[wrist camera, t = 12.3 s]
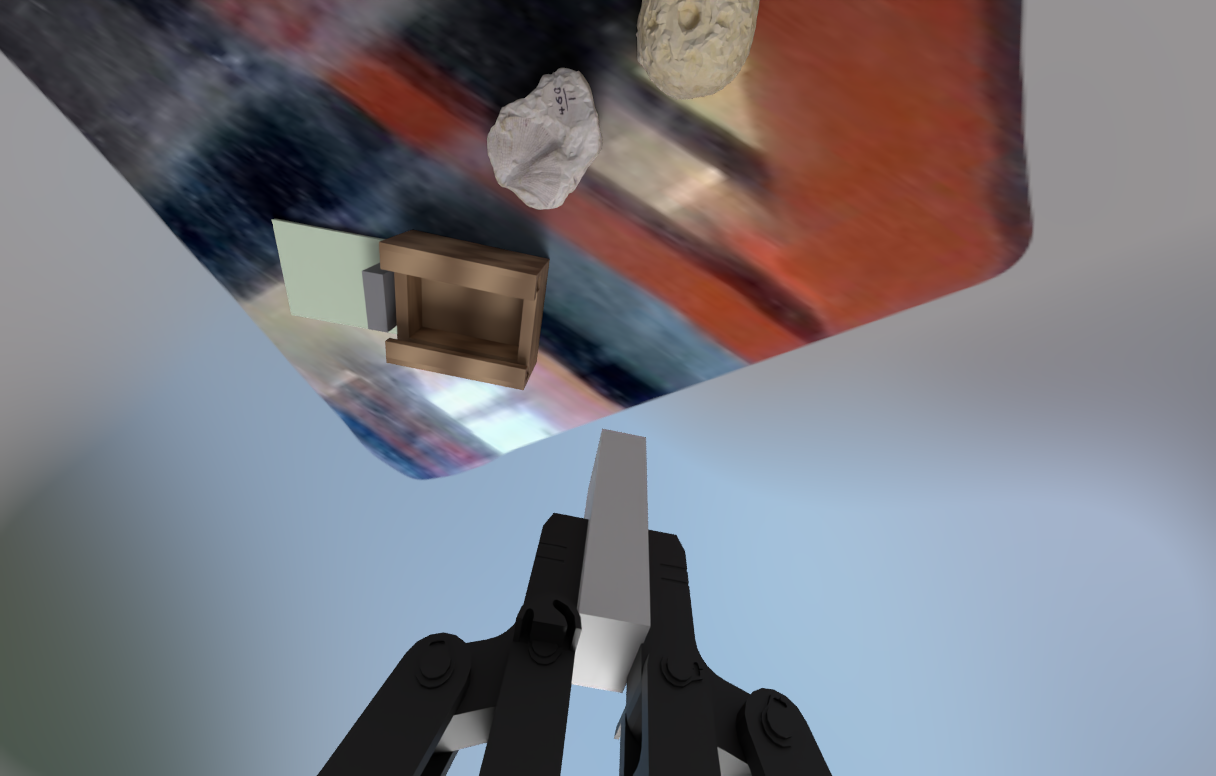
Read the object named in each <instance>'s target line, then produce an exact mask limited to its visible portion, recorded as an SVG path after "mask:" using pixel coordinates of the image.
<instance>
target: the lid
mask: <svg viewBox="0 0 1216 776" xmlns="http://www.w3.org/2000/svg"><path fill="white" fill-rule="evenodd" d="M272 223H273V228H274V233H275V238H276V242H277V247H278V252H279V257H280V262H281V267H282V272H283V276H284V281H285V286H286V291H287V296H288V301H289V306H290V310H291V315H294V316H300V317H305V318H311V319H316V320H322V321H327V322H333V323H338V324H344V325H349V326H355V327H360V328H365V329H371V330H376V331H382V332H387V333H393V334H397V319H396V299H395V279H394V272H392V271H388V270H383V269H380V254H379V242H380V241H383V240H385V239H381V238H376V237H370V236H365V235H360V234H354V233H349V232H344V231H338V230H333V229H328V228H323V227H317V226H312V225H307V224H301V223H296V222H291V221H285V220H280V219H272Z"/></svg>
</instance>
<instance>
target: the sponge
mask: <svg viewBox="0 0 1216 776" xmlns="http://www.w3.org/2000/svg"><path fill="white" fill-rule="evenodd" d="M758 8H759V0H642V7H641V10H640V13H639V16H638V22H637V29H638V32H637V34H636V36H637V46H638V48H637V59H638V61H639V63H640V64H641V65H642V66H643V67H644V68H645V70H646V71H647V73H648V76H649V78H650V80H651V81H652V82H654V83H655V84H656V86H657V87H658V88H659V89H660V90H661V91H663V92H664V93H666V94H667V95H669V96H671V97H673V98H675V99H693V98H696V97H704V96H707V95H712V94H714V93H716V92H717V91H719V90H722V89H723V88H724V87H725V86H726V85H727V84H729V83H730V82H731V81H732V80H733V79H734V78H735V77H736V76H737V74H738V73H739V71H740V70H741V67H742V66H743V65H744V63H745V61H746V58H747V57H748V55H749V52H750V48H751V44H752V41H753V36H754V32H755V28H756V19H757V14H758Z"/></svg>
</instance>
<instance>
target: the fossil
mask: <svg viewBox="0 0 1216 776" xmlns="http://www.w3.org/2000/svg"><path fill="white" fill-rule="evenodd" d="M602 144H603V138H602V134H601V131H600V126H599V119H598V113H597V111H596V109H595V106H594V101H593V96H592V92H591V88H590V86H589V83H588V82H587V81H586V79H585V78H584V76H583V75H582V74H581V72H580V71H577V72H576V71H574V70H571V69H568V68H559V69H558V70H557V71H556V72H553V73H552V74H551V75H550V74H545V75H543V76H542V78H541V80H540V82H539V84H538V86H537V87H536V89H535V90H534V91H532V92H531V93H530V94H529V95H528V96H527V97H526V98H522V99H518V100H516V101H515V102H512V103H509V104H507V105H506V106H505V107H502V108H501V110H500V114H499V116H498V118H497V120H496V124H495V125H494V126H493V127H492V128H491V130H490V132H489V134H488V137H487V150H488V156H489V158H490V161H491V164H492V166H493V168H494V174H495V177H496V179H497V181H498V184H499V185H500V186H502V187H505V188H508V189H510V190H511V191H513V192H514V193H515V194H516V195H517V196H518V198H519V199H521V200H522V201H523V202H524V203H525V204H526V205H527V206H529V207H533V208H536V209H539V210H542V209H552V208H557V207H559V206H561V205H562V204H563V202H564V200H565V198H566V197H567V196H568V194H569V193H572V192H573V191H574V190H575V188H576V187H577V185H578V183H579V181H580V180H581V178H582V176H583V175H584V173H585V172H586V170H587V167H588V166H589V165H590V164H591V163H592V162H593V161H594V159H595V158H596V157H597V155H598V154H599V153H600V151H601V150H602Z"/></svg>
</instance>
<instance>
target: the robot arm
mask: <svg viewBox="0 0 1216 776" xmlns="http://www.w3.org/2000/svg"><path fill="white" fill-rule="evenodd" d="M646 465H647V462H646V437H641V436H636V435H631V434H626V433H621V432H616V431H611V430H606V429H602V433H601V437H600V441H599V445H598V450H597V454H596V458H595V463H594V467H593V471H592V476H591V480H590V484H589V488H588V495H587V501H586V508H585V515H584V518H579V517H573V516H568V515H563V514H558V513H553V515H552V516H551V517H550V518H549V519H548V521H547V522H546V523H545V524H544V525H543V529H542V533H541V537H540V541H539V545H538V548H537V552H536V557H535V561H534V565H533V568H532V572H531V576H530V580H529V584H528V588H527V592H526V596H525V601H524V604H523V606H522V607H521V609H520V611H519V613H518V615H517V618H516V622H515V624H514V625H513V626H512V627H511V628H510V629H508V630H507V631H506V632H504V633H503V634H501V635H499V636H497V637H494V638H490V639H487V640H481V641H475V642H470V643H465V642H464V641H463V640H462V639H460V638H459V637H458V636H456V635H452V634H448V633H438V634H432V635H429V636H427V637H425V638H423V639H421V640H419V641H418V642H416V643H415V644H414V645H413V646H412V648H410V649H409V651H407V652H406V654H405V655H404V656H403V658H402V659H401V661H400V662H399V663H398V665H397V666H396V668H395V669H394V670H393V672H392V673H391V674H390V676H389V677H388V678H387V680H386V681H385V683H384V684H383V685H382V687H381V688H380V689H379V691H378V692H377V694H376V695H375V696H374V698H373V699H372V701H371V702H370V703H369V705H368V706H367V707H366V709H365V710H364V712H363V713H362V714H361V716H360V717H359V718H358V720H357V721H356V723H355V724H354V725H353V727H352V728H351V730H350V731H349V732H348V734H347V735H346V736H345V738H344V739H343V741H342V742H341V743H340V745H339V746H338V747H337V749H336V750H335V752H334V753H333V754H332V756H331V757H330V759H329V760H328V761H327V763H326V764H325V766H324V767H323V768H322V770H321V771H320V772H319V774H318V775H317V776H446V774H447V772H448V770H449V768H450V766H451V764H452V762H453V760H454V758H455V756H456V754H457V752H458V751H459V749H463V748H467V747H471V746H475V745H479V744H483V743H487V746H486V750H485V754H484V758H483V762H482V765H481V769H480V774H479V776H560V773H561V765H562V757H563V749H564V740H565V732H566V724H567V716H568V708H569V700H570V691H571V684H573V685H579V686H585V687H591V688H597V689H602V690H609V691H614V692H620V693H623V690H624V688H625V686H626V683H627V692H626V693H627V694H626V707H625V709H624V711H623V714H622V716H621V718H620V720H619V723H618V725H617V727H616V732H615V737H614V739H619V738H620V769H619V776H832V775H831V773H830V770H829V768H828V766H827V764H826V762H825V760H824V758H823V756H822V754H821V751H820V749H819V747H818V745H817V743H816V741H815V739H814V737H813V735H812V732H811V730H810V728H809V726H808V724H807V722H806V720H805V719H804V717H803V715H802V714H801V712H800V711H799V709H798V708H797V706H796V705H794V703H792V702H791V701H790V700H789V699H788V698H787V697H786V696H785V695H783V694H781V693H779V692H777V691H775V690H773V689H765V688H761V689H759V690H756V691H753V692H752V693H751V694H749V693H747V692H745V691H743V690H742V689H740V688H738V687H736V686H734V685H732V684H731V683H729V682H727V681H725V680H723V679H722V678H721V677H719V676H717V675H716V674H715V673H714V672H713V671H712V670H711V669H710V668H709V667H708V666H707V665H706V663H705V662H704V660H703V659H702V657H701V655H700V653H699V651H698V649H697V645H696V641H695V634H694V625H693V617H692V608H691V599H690V590H689V586H688V583H689V581H688V573H687V564H686V555H685V551H684V548H683V547H682V545H681V543H680V541H679V539H678V537H677V535H674V534H668V533H663V532H658V531H653V530H648V503H647V466H646ZM620 736H621V737H620Z"/></svg>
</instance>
